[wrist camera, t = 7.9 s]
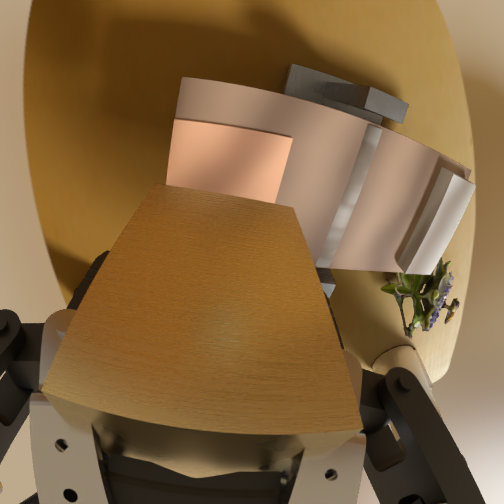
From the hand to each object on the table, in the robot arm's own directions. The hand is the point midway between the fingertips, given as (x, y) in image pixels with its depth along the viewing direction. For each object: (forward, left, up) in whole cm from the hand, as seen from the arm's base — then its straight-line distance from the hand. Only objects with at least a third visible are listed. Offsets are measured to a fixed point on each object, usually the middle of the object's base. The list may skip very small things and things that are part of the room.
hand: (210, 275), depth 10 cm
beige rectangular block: (0, 0, -1) cm, 1 cm away
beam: (-9, 0, -12) cm, 15 cm away
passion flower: (-28, +12, -20) cm, 37 cm away
